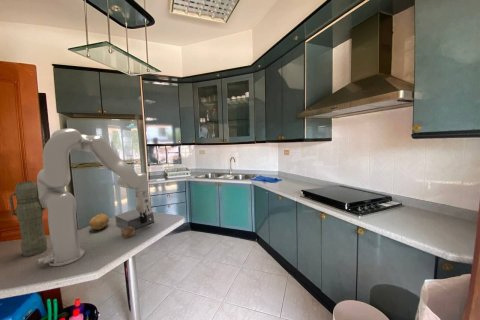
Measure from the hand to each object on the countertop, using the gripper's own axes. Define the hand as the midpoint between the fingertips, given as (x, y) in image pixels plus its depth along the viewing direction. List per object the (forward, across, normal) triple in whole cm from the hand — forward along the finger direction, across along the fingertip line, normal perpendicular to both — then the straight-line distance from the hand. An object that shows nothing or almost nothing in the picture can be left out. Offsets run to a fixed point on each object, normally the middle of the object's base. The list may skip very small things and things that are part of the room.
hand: (143, 222), depth 126 cm
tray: (+3, +10, 0) cm, 10 cm away
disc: (+1, +9, 0) cm, 9 cm away
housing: (+3, +11, 0) cm, 12 cm away
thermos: (+3, +20, +45) cm, 49 cm away
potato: (+3, +23, +16) cm, 28 cm away
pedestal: (+3, -3, +11) cm, 12 cm away
